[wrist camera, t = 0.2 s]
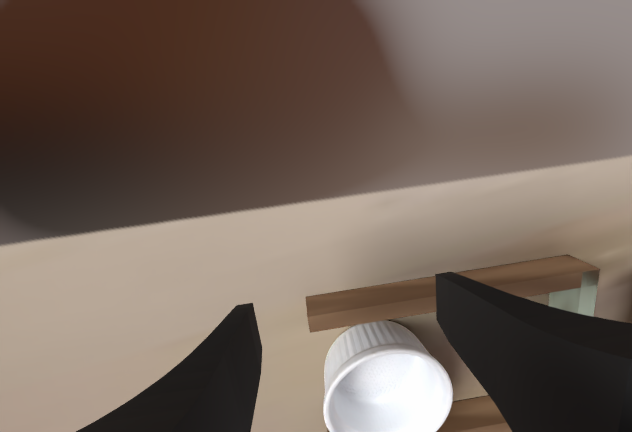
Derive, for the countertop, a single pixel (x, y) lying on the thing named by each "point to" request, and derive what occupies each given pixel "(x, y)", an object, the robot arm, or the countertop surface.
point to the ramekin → (384, 382)
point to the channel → (420, 297)
